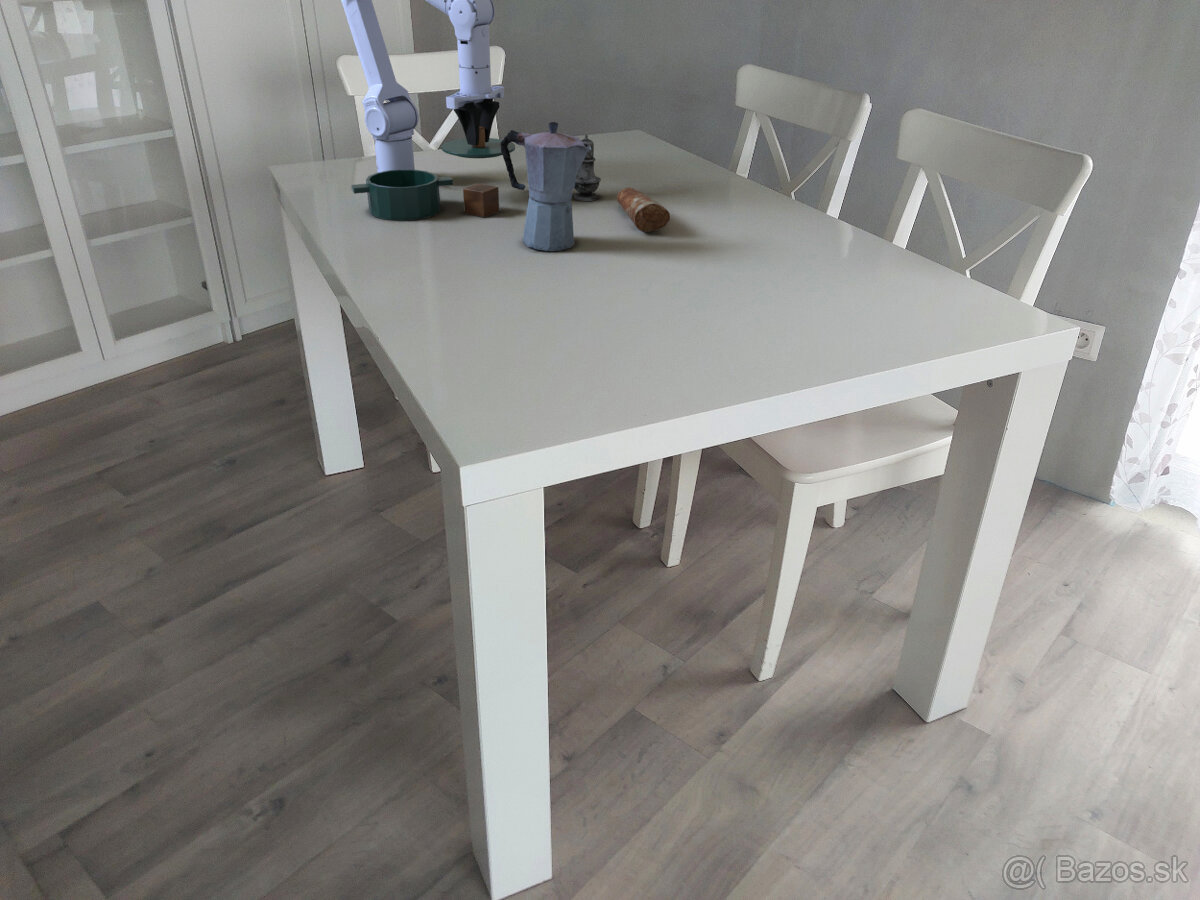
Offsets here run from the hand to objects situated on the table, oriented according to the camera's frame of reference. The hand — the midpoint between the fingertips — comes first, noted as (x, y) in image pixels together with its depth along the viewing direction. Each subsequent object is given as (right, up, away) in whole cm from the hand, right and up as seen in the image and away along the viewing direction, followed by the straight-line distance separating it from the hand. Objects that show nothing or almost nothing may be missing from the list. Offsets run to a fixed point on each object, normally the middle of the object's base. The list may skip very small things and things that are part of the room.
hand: (478, 143), depth 176 cm
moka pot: (+14, -23, -18) cm, 32 cm away
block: (+1, -14, -3) cm, 14 cm away
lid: (0, -1, 0) cm, 1 cm away
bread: (+30, -16, -5) cm, 34 cm away
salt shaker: (+20, -9, +7) cm, 23 cm away
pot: (-13, -13, -3) cm, 19 cm away
